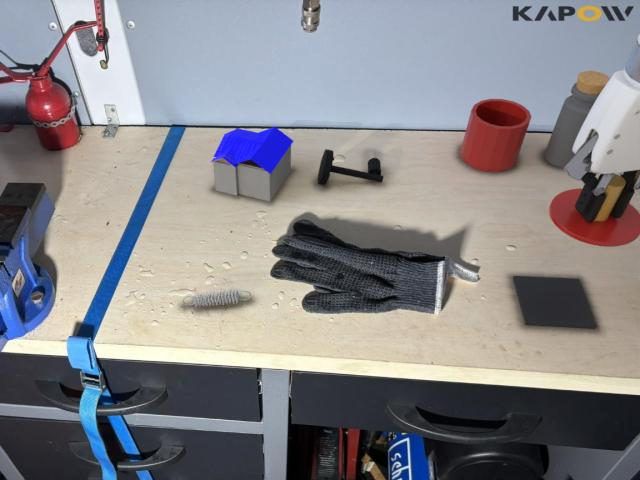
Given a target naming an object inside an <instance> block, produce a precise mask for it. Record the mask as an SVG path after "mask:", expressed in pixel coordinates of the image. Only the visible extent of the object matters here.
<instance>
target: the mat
mask: <svg viewBox="0 0 640 480" xmlns="http://www.w3.org/2000/svg"><path fill="white" fill-rule="evenodd" d="M512 281H513V284H514V288H515V292H516V296H517V299H518V302H519V306H520V310H521V315H522V318H523V322H524V325H525V326H539V327H553V328H554V327H557V328H573V329H593V330H596V329H597V324H596V321H595V318H594V315H593V313H592V310H591V307H590V305H589V302H588V299H587V297H586V294H585V291H584V288H583V285H582V283H581V281H580V278H575V277H573V278H572V277H551V276H529V275H527V276H526V275H512Z"/></svg>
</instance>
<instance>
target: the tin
mask: <svg viewBox="0 0 640 480" xmlns="http://www.w3.org/2000/svg"><path fill="white" fill-rule="evenodd" d="M531 120H532V115H531V112H530V110H529V109H527V107H525V106H524V105H522V104H521V103H518V102H516V101H514V100H510V99H509V100H508V99H503V98H488V99H483V100H480V101H478V102H477V103H475V104H473V106H472V107H471V109H470V114H469V117H468V121H467V125H466V129H465V133H464V135H463V141H462V144H461V148H460V157H461V159H462V160H463V162H464V163H466V164H467V165H468V166H470V168H473V169H476V170H479V171H483V172H489V173H498V172H499V173H500V172H504V171H507V170H510V169H512V168H513V167H514V166H515V165H516V163H517V160H518V158H519V154H520V152H521V148H522V145H523V143H524V139H525V138H526V135H527V132H528V128H529V125H530V122H531Z"/></svg>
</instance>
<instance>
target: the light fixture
mask: <svg viewBox="0 0 640 480" xmlns="http://www.w3.org/2000/svg"><path fill="white" fill-rule="evenodd" d="M334 154H335V153H334V150H332V149H328V148H327V149H325V150H324V151H323V153H322V157H321V160H320V164H319V169H318V174H317V185H321V186H326V185H327V184H328V181H329V179H330V175H331V173H333V174H338V175H344V176H348V177H353V178H358V179H363V180H368V181H373V182H377V183H383V181H384V177H385V175H382V165H381V159H379V158H378V157H372V158H370V159H368V161H367V171H362V170H358V169H352V168H347V167H342V166H337V165H333V162H334V161H335V157H334V156H335V155H334ZM374 155H375V153H373V156H374Z"/></svg>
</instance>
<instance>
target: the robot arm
mask: <svg viewBox="0 0 640 480" xmlns="http://www.w3.org/2000/svg"><path fill="white" fill-rule="evenodd" d="M609 78H610V80H609V81H608V82H607V84H606V85H605V87H604V88H603V90H602V91H601V93H600V94H599V96H598V98H597V99H596V101H595V103H594V104H593V106H592V108H591V110H590V112H589V113H588V115H587V117H586V119H585V121H584V123H583V125H582V127H581V129H580V131H579V133H578V136H577V138H576V140H575V143H574V145H573V149H572V151H573V152H574V153H575V154H576V155H575V156H574V157H573V158H572V159H571V160H570V162H569V163H568V164H567V165H566V166H565V167H564V168H563V171H564V172H565V174H567V176H568V177H570V178H572V179H575V180H576V181H580V182H582V183H583V187H582V188H581V189H582V191H581V193H580V195H579V198H578V200H577V202H576V204H575V208H576V210H577V211H578V212H579V213H580V214H581V216H582V217H583V218H584V219H585V220H586V222H593V221H594V220H595V218H596V216H597V214H598V212H599V210H600V208H601V207H602V205H603V203H604V201H605V199H606V195H605V193H604V191H605V189H606V187H607V186H608V184H609V182H610V180H611V179H612V177H613V175H614V174H616V173H619V176H621V177H623V178H624V179H625V181H626V184H625V186H624V188H623V190H622V192H621V194H620V196H619V198H618V199H617V201H616V203H615V205H614V207H613V209H612V211H611V213H610V215H611V216H612V217H613V218H615V219H617V218H621V217H622V215H623V213H624V211H625V209H626V208H627V206H628V204H629V203H630V202H631V200H632V198H633V197H634V195H635V194H636V191H639V190H640V33H639V34H638V36H637V38H636V40H635V42H634V45H633V47H632V49H631V51H630V54H629V56H628V58H627V60H626V63H625V65H624V67H623V69H622V70H621V69H620V70H617V71H615V72H614V73H613V74H612V76H611V77H609ZM597 174H598V175H599V176H598V177H597Z"/></svg>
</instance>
